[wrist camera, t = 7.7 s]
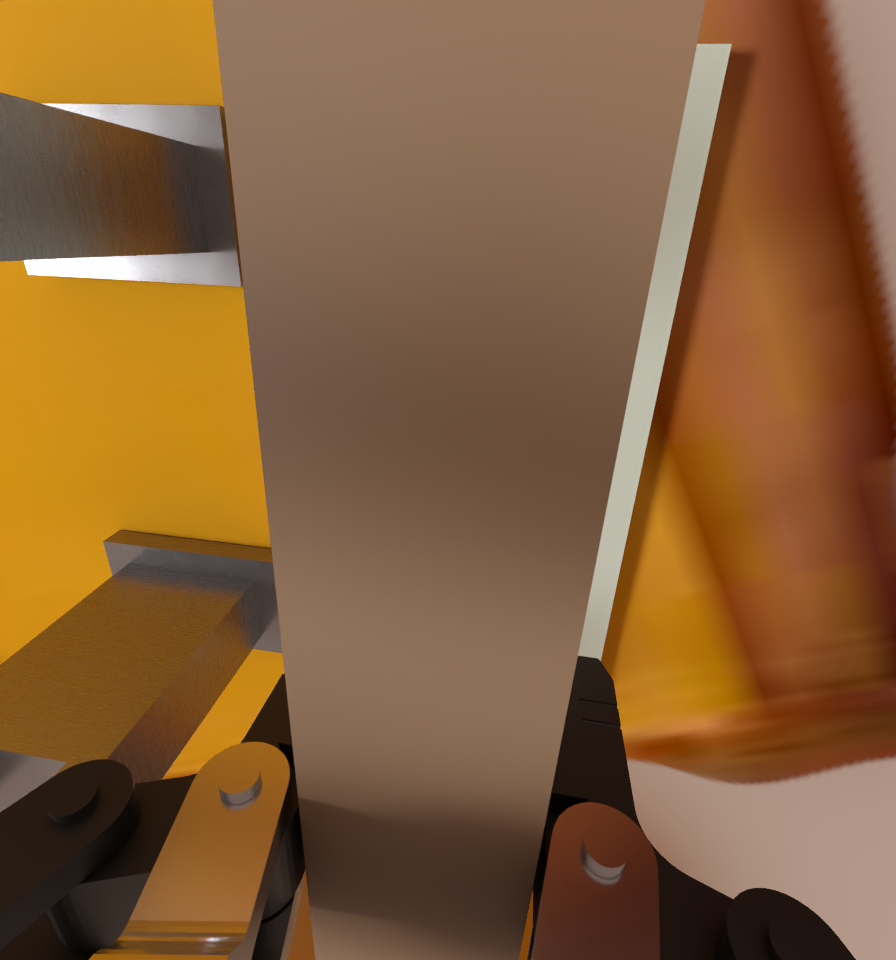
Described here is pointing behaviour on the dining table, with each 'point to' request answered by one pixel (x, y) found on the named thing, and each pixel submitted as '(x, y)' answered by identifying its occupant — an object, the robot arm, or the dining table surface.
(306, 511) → the walnut bar
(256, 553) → the forked posts
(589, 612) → the white flat slab
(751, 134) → the dining table surface
